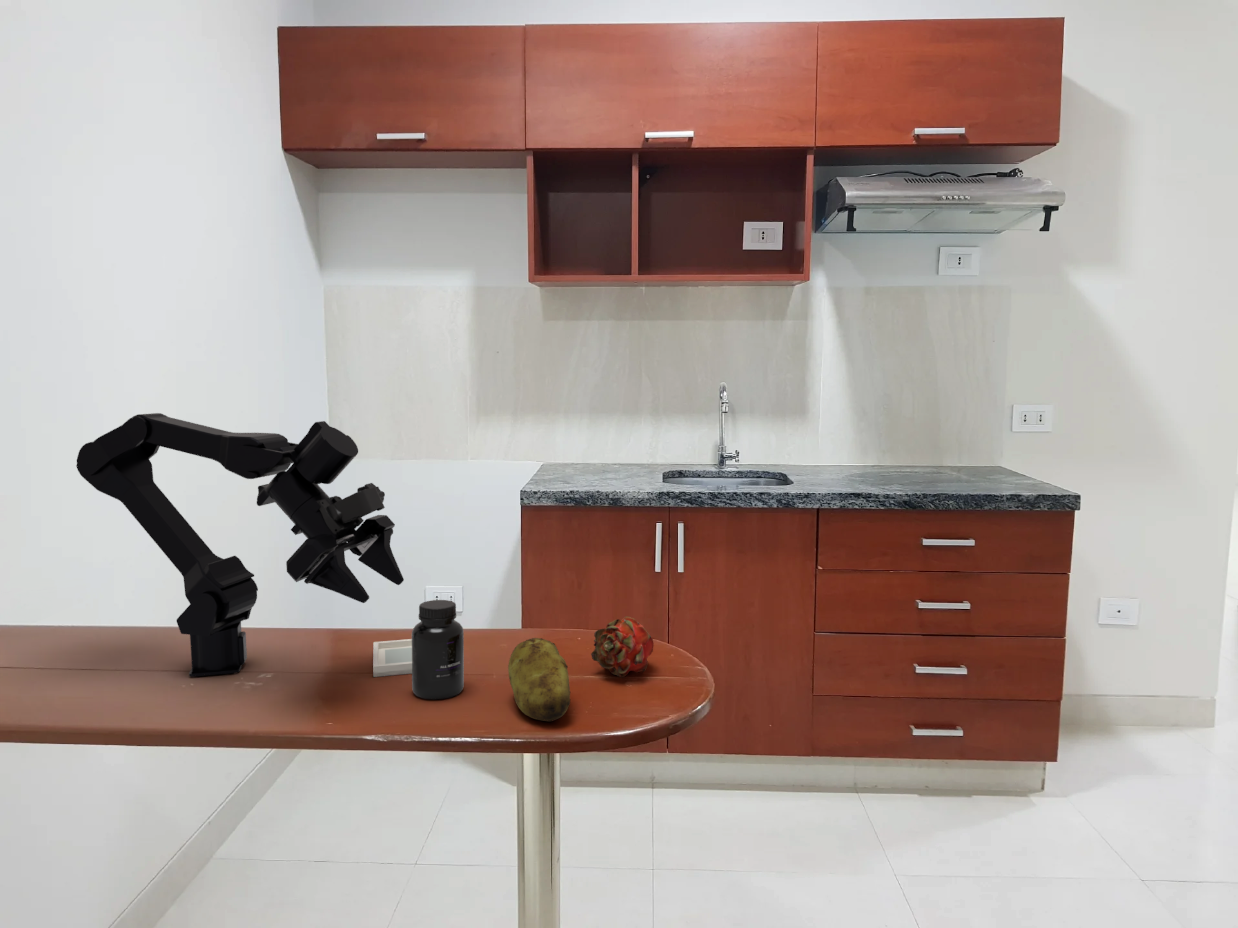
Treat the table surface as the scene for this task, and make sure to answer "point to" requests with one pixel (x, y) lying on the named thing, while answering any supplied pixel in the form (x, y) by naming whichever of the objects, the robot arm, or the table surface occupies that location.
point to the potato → (539, 679)
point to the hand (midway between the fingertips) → (384, 591)
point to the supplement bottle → (437, 651)
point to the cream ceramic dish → (392, 657)
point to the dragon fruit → (623, 646)
